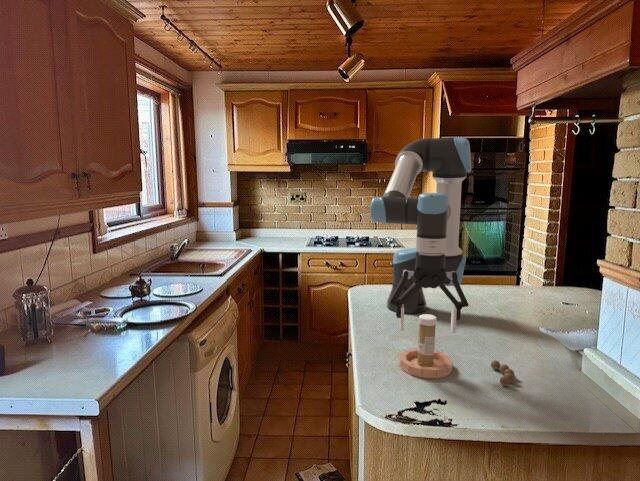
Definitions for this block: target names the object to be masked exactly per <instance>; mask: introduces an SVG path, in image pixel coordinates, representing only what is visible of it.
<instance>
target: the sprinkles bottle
mask: <svg viewBox="0 0 640 481" xmlns="http://www.w3.org/2000/svg"><path fill="white" fill-rule="evenodd" d="M437 319H438V318H437V317H436V316H435V315H434V314H427V313H424V314H421V315H419V317H418V324H419V326H418V340H417V341H418V342H417V348H418V360H417V363H418V364H419V365H421V366H424V367H430V366H433V365H434V362H433V360H434V350H435V347H436V326H437Z"/></svg>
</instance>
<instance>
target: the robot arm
mask: <svg viewBox="0 0 640 481" xmlns="http://www.w3.org/2000/svg"><path fill="white" fill-rule="evenodd" d="M394 167H395V168H394V170H393V172H392V175H391V177H390V179H389V182H388V184H387V186H386V189H385V191H384V193H383V196H375V197H373V198H372V199H371V201H370V207H369V209H370V210H369V216H370V218H371V219H370V220H371V221H372V222H374V223H380V224H381V223H382V224H396V225H397V224H398V225H399V224H400V225H416V238H415V239H416V241H415V243H416V244H415V247H414V248H413V247H412V248H405V249H404V248H403V249H399V250H397V251H395V252H394V253H393V257H392V258H393V259H392V260H393V261H392V282H391V283H392V284H391V286H392V287H391V289H390V293H389V296H388V298H387V302H386V308H387V309H388V310H390V311H392V312H395V315H396V318H397V319H399V330H400V332H403V331H404V322H405V314H421V313H424V312H426V310H427V300H426V297H425V294H424V290H423V289H428V288H429V289H436V288H438V287H439V288H440V290H442V292H443V293H444V294H445V296H446V298H448V299H449V301H451V303H452V304H453V305H452V306H451V311H450V312H451V313H450V315H451V316H450V331H451V333H453V334H456V333H457V332H456V330H457V328H456V327H457V321H460V320H461V311H462V308H465V307H467V308H468V307H469V302H468V300H467V298H466V296H465V294H464V292H463V289H462V287H461V284H462V282H463V277H464V271H465V266H466V261H467V256H466V255H463V250H462V249H461V247H459V240H460V237H459V236H460V223H461V222H460V221H461V220H460V218H461V203H462V182H463V181H464V180H465V179H466V178H467V175H468V174H467V173H470V172H471V171H472V157H471V146H470V141H469V140H468V139H467V137H456V136H454V137H441V138H440V137H439V138H438V137H437V138H436V137H435V138H433V137H432V138H429V137H427V138H419V139H417V140H414V141H412V142H410V143H409V144H407V145H406V146H404V147H403V148H402V149H401V150H400V151H399V152H398V154H397V155H396V158H395V160H394ZM422 172H429V173H430V172H432V173H431V174H432V179H433V180H434V181H435V182H436V186H435V187H436V188H435V190H436V191H435V192H425V193H420V194H419V195H418V197H411V194H412V190H413V187H414V184H415V182H416V180H417V179H416V178H417V175H419V174H420V173H422ZM447 287H454V288H455V291H456V293H457V295H458V297H459V299H460V301H458V300H457V298H456V297H455V296H454V294H452V292H451V291H450V290H449V289H448V288H447Z"/></svg>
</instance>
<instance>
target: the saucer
mask: <svg viewBox="0 0 640 481" xmlns="http://www.w3.org/2000/svg"><path fill="white" fill-rule="evenodd" d="M417 360H418V347H416V348H415V347H414V348H411V349H410V348H409V349H405V350H403V351H402V352H401V353H400V354H399V360H398V367H399V368H400V370H401V371H403V372H404V373H406V374H408V375H410V376H412V377H417V378H420V379H427V380H429V379H430V380H434V379H443V378H446V377H448V376H450V374H452V372H453V361H452V359H451V357H450V356H449V355H447V354H445V353H443V352H442V351H440V350H435V349H434V360H433V362H434V365H433V366H430V367H424V366H421V365H419V364H418V363H417Z"/></svg>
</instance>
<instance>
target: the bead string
mask: <svg viewBox="0 0 640 481" xmlns="http://www.w3.org/2000/svg"><path fill="white" fill-rule="evenodd" d="M490 367H491V368H492V369H493V370H499V371H500V373H501V374H504V375H503V376H501V377H500V378H499V383H500V385H501V386H503V387H509V386H510V385H511V384H512V383H514V381H515V371H514V370H513V369H511V368H510V367H509V366H508V365H507V364H501V363H500V362H499V360H492V361H491V362H490Z"/></svg>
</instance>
